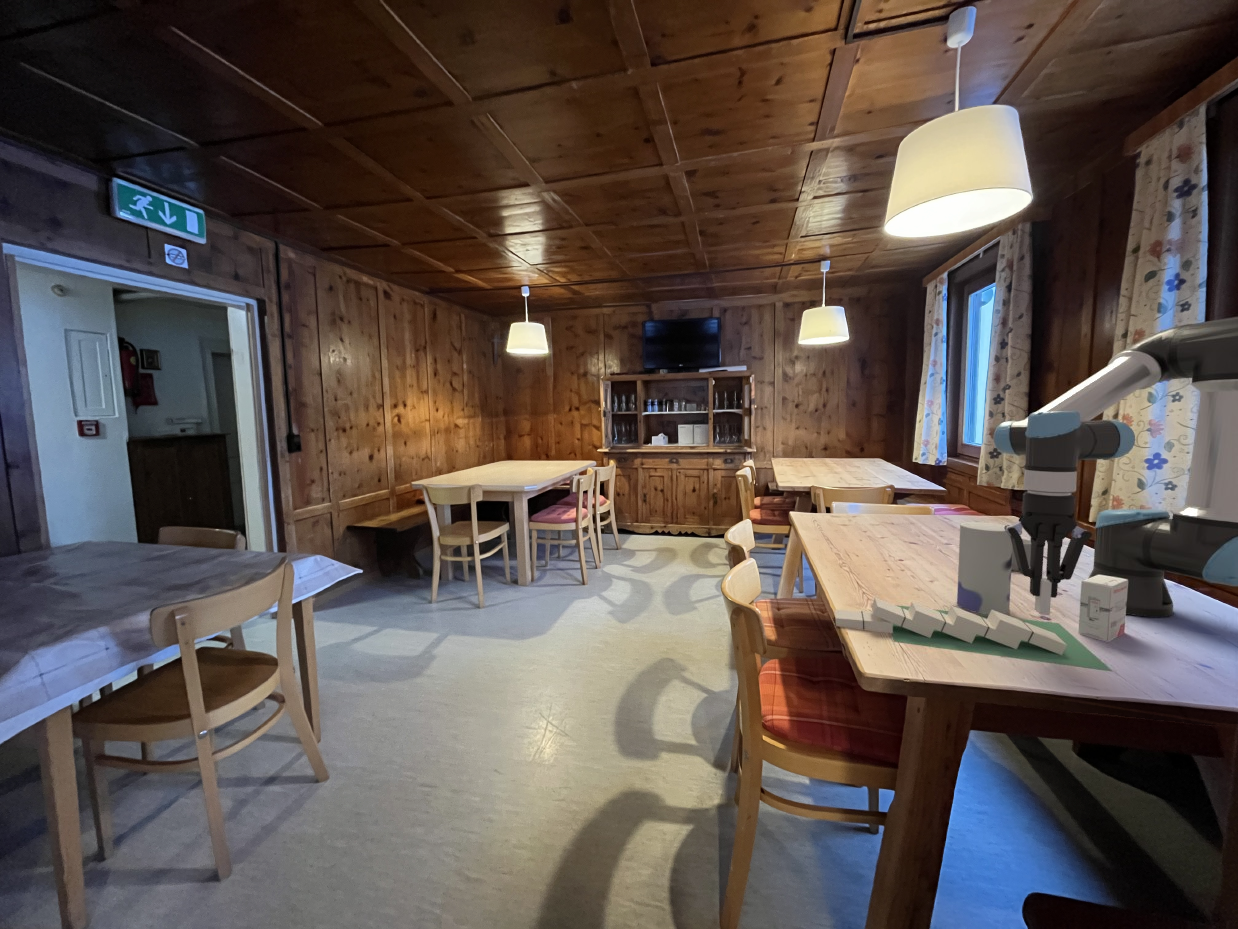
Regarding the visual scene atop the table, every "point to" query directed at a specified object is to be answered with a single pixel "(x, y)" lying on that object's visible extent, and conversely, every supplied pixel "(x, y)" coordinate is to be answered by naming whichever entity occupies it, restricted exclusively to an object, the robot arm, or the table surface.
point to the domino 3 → (938, 622)
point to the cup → (1027, 550)
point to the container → (984, 567)
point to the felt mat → (1071, 656)
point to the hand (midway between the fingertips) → (1042, 612)
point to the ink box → (1103, 607)
